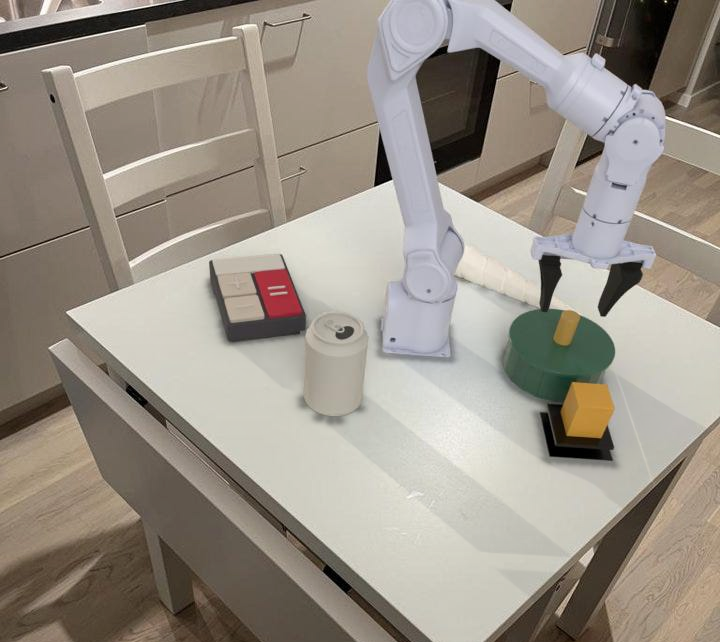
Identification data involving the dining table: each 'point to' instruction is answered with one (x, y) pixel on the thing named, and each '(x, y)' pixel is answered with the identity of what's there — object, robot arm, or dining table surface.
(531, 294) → the unicorn horn
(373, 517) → the dining table surface
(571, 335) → the tin lid
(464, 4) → the robot arm
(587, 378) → the tin
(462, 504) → the dining table surface
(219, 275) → the calculator
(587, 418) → the block
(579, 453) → the stand
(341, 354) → the can
